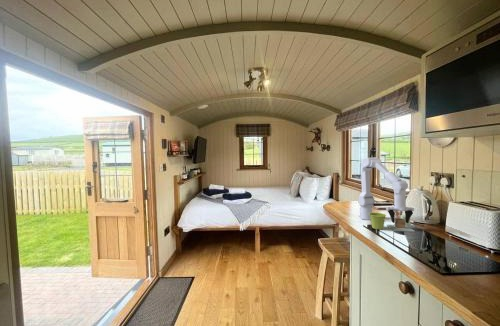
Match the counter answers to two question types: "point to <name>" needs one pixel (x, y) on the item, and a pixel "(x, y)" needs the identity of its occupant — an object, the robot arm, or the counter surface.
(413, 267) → the counter surface
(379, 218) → the plant pot
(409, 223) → the sage block
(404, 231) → the board
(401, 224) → the walnut block
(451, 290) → the counter surface
